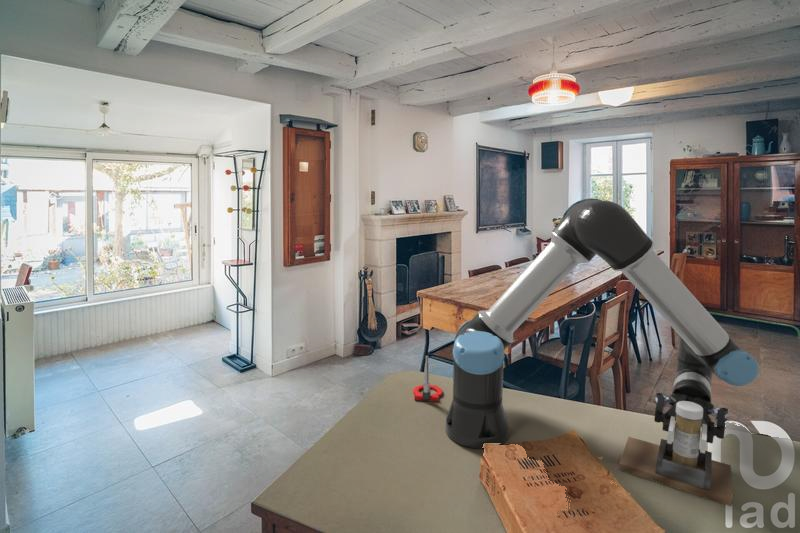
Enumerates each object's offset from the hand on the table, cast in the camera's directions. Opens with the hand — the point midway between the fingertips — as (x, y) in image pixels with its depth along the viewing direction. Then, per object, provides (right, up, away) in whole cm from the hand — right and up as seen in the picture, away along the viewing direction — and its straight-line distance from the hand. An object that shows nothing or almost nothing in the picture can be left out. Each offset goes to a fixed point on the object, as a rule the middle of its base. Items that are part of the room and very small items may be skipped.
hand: (686, 441), depth 85 cm
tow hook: (-47, -4, +43) cm, 63 cm away
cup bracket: (+3, -9, +8) cm, 12 cm away
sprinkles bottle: (+3, -8, +6) cm, 10 cm away
